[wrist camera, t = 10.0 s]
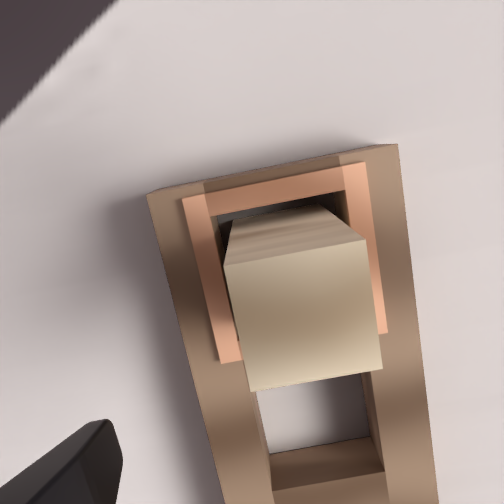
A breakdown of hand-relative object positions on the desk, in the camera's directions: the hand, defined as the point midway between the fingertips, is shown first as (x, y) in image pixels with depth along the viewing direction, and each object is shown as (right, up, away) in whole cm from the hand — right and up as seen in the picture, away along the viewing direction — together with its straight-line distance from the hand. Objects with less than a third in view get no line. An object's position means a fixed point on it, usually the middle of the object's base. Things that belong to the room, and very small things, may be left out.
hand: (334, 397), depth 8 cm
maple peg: (0, +3, +12) cm, 12 cm away
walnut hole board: (+1, -5, +13) cm, 14 cm away
